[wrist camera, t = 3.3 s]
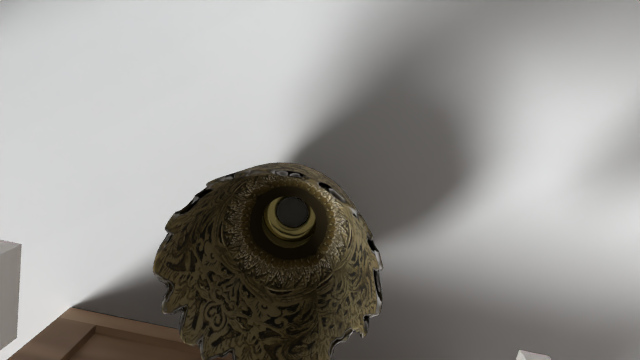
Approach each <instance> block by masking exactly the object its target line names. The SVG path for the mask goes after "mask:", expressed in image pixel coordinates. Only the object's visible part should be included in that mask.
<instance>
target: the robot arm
mask: <svg viewBox="0 0 640 360" xmlns="http://www.w3.org/2000/svg"><path fill="white" fill-rule="evenodd" d="M20 264H21V244H18V243H13V242H8V241H3V240H0V350H1V349H2V348H4V347H5V346H6V345H8V344H9V343H10V342H12V341H13V340H14V339H16V338H17V322H18V302H19V283H20ZM516 360H551V358H550V357H549V356H547V355H542V354H537V353H532V352H528V351H523V350H519V352H518V355H517V358H516Z"/></svg>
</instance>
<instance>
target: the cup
mask: <svg viewBox="0 0 640 360" xmlns="http://www.w3.org/2000/svg"><path fill="white" fill-rule="evenodd" d="M206 186H207V187H206V188H205V189H204V190H202V191H201V192H199V193H198V194H196V195H195V197H194V198H193V200H192V201H191V202H190V203H189V204H188V205H187V206H186V207H184V208H183V209H182V210H180V211H178V212H175V213H174V214H173V216H172V217H171V218H170V220H169V221H168V223H167V224H166V227H165V230H166V231H167V232H168V234H167V236H166V237H165V239H164V240H163V242H162V243H161V245H160V247H159V249H158V251H157V254H156V257H155V261H154V266H153V272H154V274H155V276H156V277H157V278H158V279H159V280H160V281H162V282H163V283H164V284H165V285H166V287H167V288H168V291H167V293H166V294H165V296H164V298H163V301H162V312H163V313H164V314H175V313H177V312H181V311H182V315H181V318H180V324H179V334H180V337H181V339H182V341H183V342H184V343H185V344H186V345H187V344H189V345H191V346H194V345H198V348H199V349H200V352H201V358H202V360H212V359H215V358H218V357H221V358H224V357H225V356H227V355H228V354H229V353H231V354H232V359H233V360H333V359H332V354H333V351H334V347H335V346H336V345H338V344H339V343H340V342H346V341H347V340H348V339H349V337H350V335H351V334H352V333H353V332H354V331H355V332H359V333H360V336H361V337H362V338H363V337H365V336H366V334H367V332H368V328H369V318H370V317H374V316H378V315H379V313H380V311H381V307H382V290H381V285H380V277H379V270H382V269H383V265H382V261H381V257H380V253H379V251H378V249H377V248H376V246H375V244H374V242H373V240H372V239H373V236H372V234H371V232H370V230H369V228H368V226H367V224H366V223H365V221H364V219H363V218H362V216H361V215H360V213H359V212H358V210H357V209H356V207H355V206H354V204H353V203H352V201H351V200H350V199H349V197H348V196H347V195H346V193H345V192H344V191H343V190H342V189H341V188H340V187H339V186H338V185H337V184H336V183H335V182H333V181H332V180H331V179H330V178H328V177H327V176H325V175H324V174H322V173H320V172H318V171H316V170H314V169H312V168H309V167H306V166H302V165H298V164H292V163H268V164H263V165H258V166H254V167H251V168H248V169H245V170H242V171H239V172H236V173H233V174H230V175H226V176H223V177H220V178H217V179H215V180H212V181H210V182H208V183H207V184H206ZM288 197H297V198H299V199H301V200H302V201H304V202H305V204H306V205H307V207H308V218H307V220H306V221H305V223H304V224H302V225H301V226H299V227H294V228H292V227H287V226H285V225H283V224H282V223H281V222H280V221H279V219H278V217H277V207H278V204H279V203H280V202H281V201H282V200H283V199H285V198H288ZM179 308H183V309H179ZM178 309H179V310H178Z"/></svg>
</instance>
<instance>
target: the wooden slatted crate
mask: <svg viewBox="0 0 640 360" xmlns="http://www.w3.org/2000/svg"><path fill="white" fill-rule="evenodd" d="M7 360H202V358H201V352H200V349H199V348H198V345H194V346H191V345H189V344H187V345H186V344H185V343H184V342H183V341H182V339H181V337H180V334H179V329H174V328H169V327H164V326H159V325H155V324H150V323H145V322H140V321H135V320H130V319H125V318H120V317H115V316H110V315H105V314H101V313H96V312H91V311H86V310H81V309H76V308H71V307H70V308H69V309H68V310H67V311H66V312H64V313H63V314H62V315H61V316H60V317H58V318H57V319H56V320H55V321H53V322H52V323H51V324H50V325H49V326H47V327H46V328H45V329H44V330H43V331H41V332H40V333H39V334H38V335H36V336H35V337H34V338H33V339H32V340H30V341H29V342H28V343H27V344H26V345H24V346H23V347H22V348H21V349H19V350H18V351H17V352H16V353H15V354H13V355H12V356H11V357H10V358H9V359H7ZM212 360H233V359H232V354H231V353H229V354H228V355H227V356H225V357H224V358H221V357H218V358H215V359H212Z"/></svg>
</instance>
